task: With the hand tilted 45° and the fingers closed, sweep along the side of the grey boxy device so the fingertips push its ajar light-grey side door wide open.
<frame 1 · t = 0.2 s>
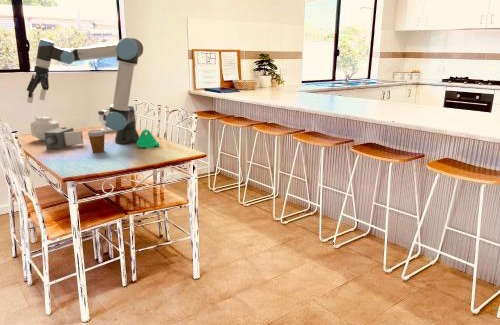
hand: (35, 101, 242), 28 cm above the table, tool tilted 20°, fingers open, 13 cm apart
white piece: (107, 130, 298), on the table
side door: (73, 138, 249), point 5 cm above the table, hinge at 45.0°
grey boxy device: (68, 146, 250), on the table
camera: (46, 141, 265), on the table
green triangular piece: (148, 147, 249), on the table
disposable coffee cup: (98, 151, 237), on the table
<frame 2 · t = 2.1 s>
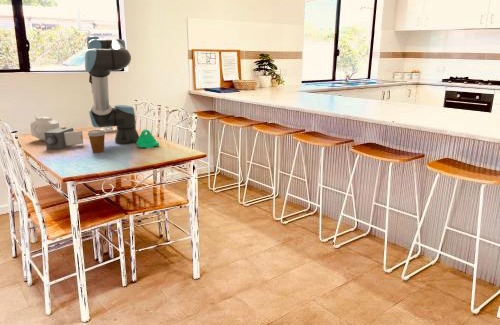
hand: (98, 94, 271), 28 cm above the table, tool pointing down, fingers open, 12 cm apart
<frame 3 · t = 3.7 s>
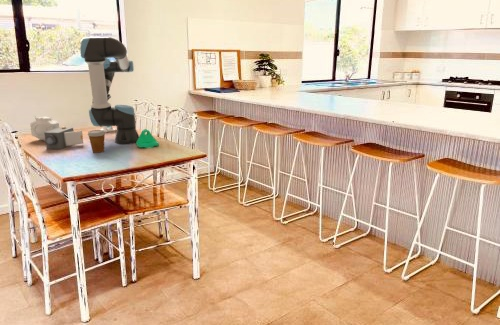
hand: (95, 115, 269), 15 cm above the table, tool tilted 45°, fingers closed
nothing on the table moved.
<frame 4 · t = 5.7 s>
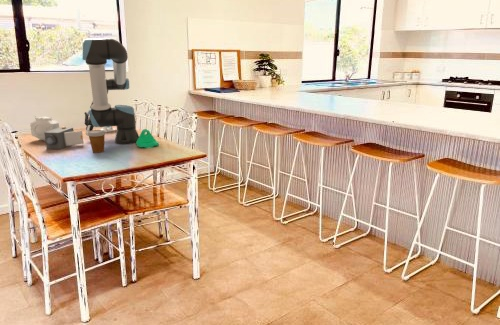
hand: (87, 134, 260), 5 cm above the table, tool tilted 45°, fingers closed
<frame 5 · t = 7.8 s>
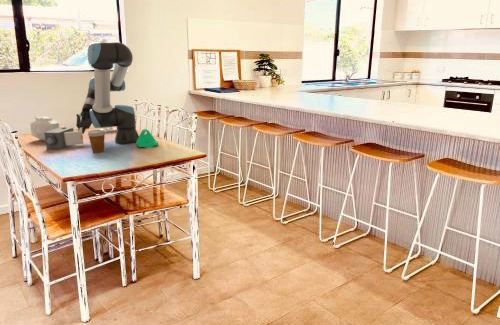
hand: (79, 137, 252), 5 cm above the table, tool tilted 45°, fingers closed
side door: (73, 138, 249), point 5 cm above the table, hinge at 46.1°, touching gripper
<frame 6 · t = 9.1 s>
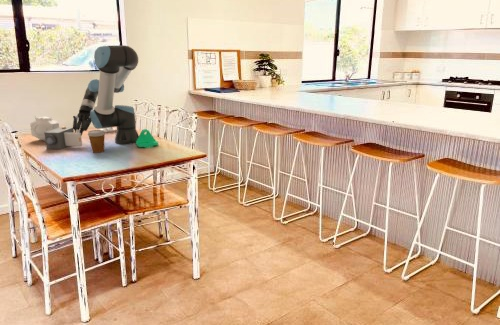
hand: (76, 139, 247), 5 cm above the table, tool tilted 45°, fingers closed, pressing on side door
side door: (72, 139, 245), point 5 cm above the table, hinge at 88.8°, touching gripper
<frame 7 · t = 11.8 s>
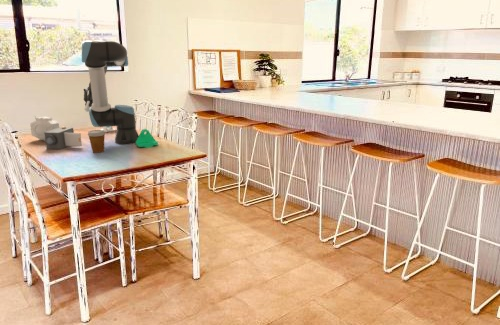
hand: (86, 110, 259), 20 cm above the table, tool tilted 45°, fingers closed
side door: (72, 139, 245), point 5 cm above the table, hinge at 91.2°
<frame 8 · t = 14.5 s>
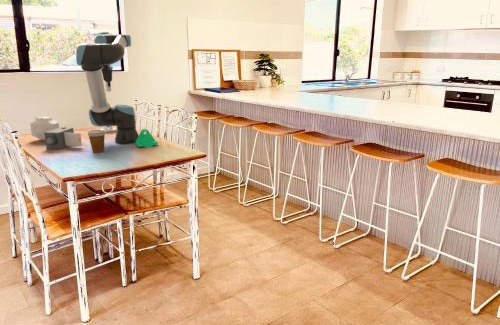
hand: (108, 91, 280), 29 cm above the table, tool pointing down, fingers closed
at the end: side door at +91° (first picture: +45°); the gripper is holding nothing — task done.
